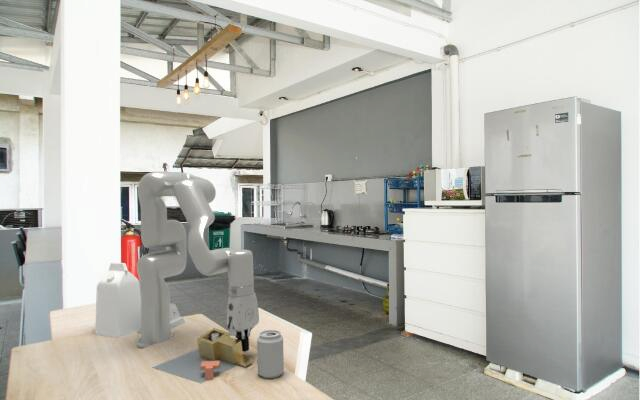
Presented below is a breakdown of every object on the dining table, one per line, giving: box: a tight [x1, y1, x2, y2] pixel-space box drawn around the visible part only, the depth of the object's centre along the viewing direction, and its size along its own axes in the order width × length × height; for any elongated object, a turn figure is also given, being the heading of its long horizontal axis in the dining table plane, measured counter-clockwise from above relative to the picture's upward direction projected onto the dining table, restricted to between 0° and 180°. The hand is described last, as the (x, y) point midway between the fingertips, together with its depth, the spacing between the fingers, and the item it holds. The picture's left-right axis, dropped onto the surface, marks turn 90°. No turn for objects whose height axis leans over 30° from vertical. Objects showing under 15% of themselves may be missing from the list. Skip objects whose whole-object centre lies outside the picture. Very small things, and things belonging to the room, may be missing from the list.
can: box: [256, 329, 285, 379], centre depth 126 cm, size 8×8×12 cm
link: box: [196, 327, 253, 368], centre depth 132 cm, size 18×7×6 cm, turn 56°
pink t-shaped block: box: [200, 361, 220, 381], centre depth 122 cm, size 5×5×5 cm
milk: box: [94, 262, 141, 339], centre depth 166 cm, size 12×12×26 cm
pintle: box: [211, 332, 219, 342], centre depth 136 cm, size 2×2×8 cm
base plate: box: [152, 348, 240, 384], centre depth 130 cm, size 20×19×2 cm
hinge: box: [170, 302, 185, 330], centre depth 170 cm, size 17×5×10 cm, turn 162°
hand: (243, 350), depth 134 cm, fingers closed
